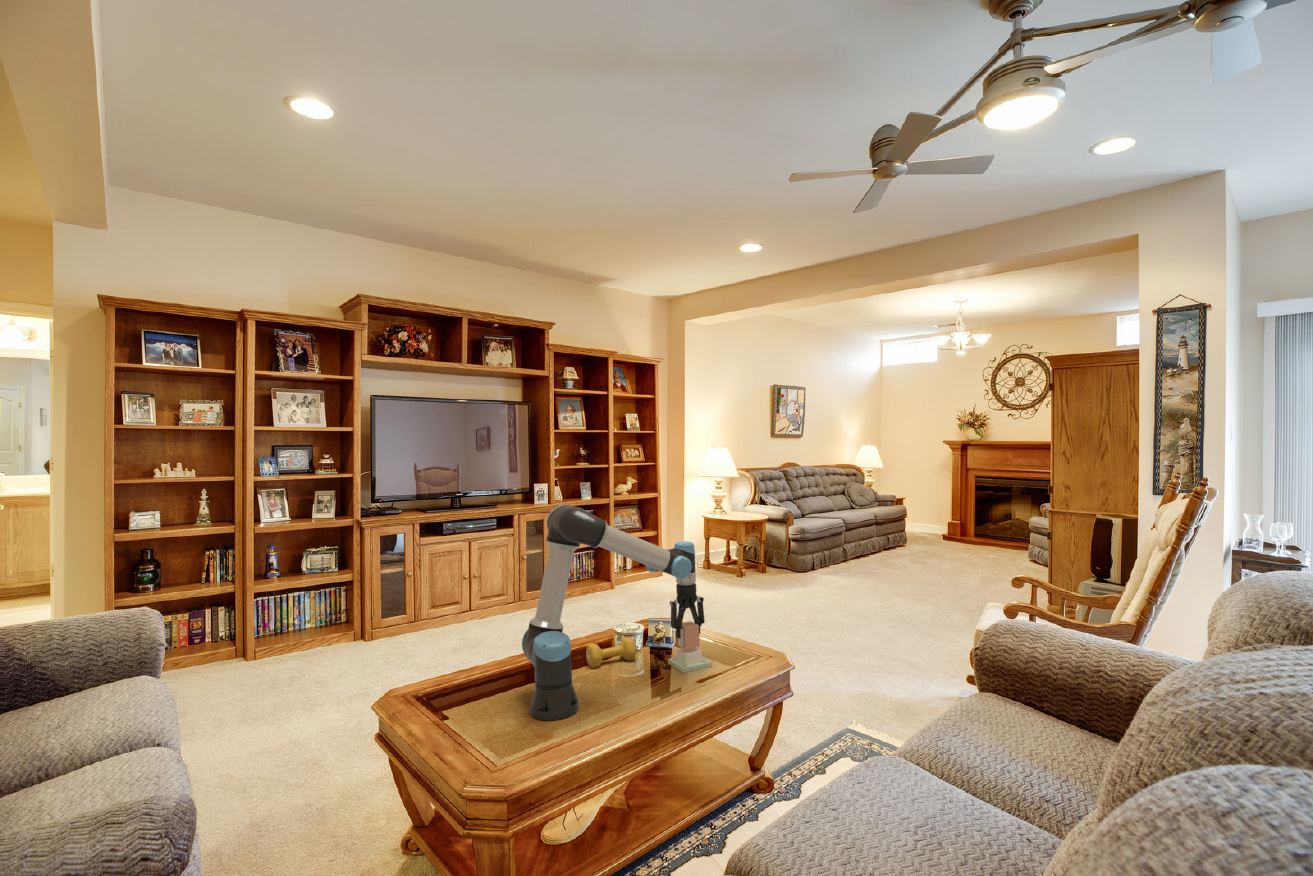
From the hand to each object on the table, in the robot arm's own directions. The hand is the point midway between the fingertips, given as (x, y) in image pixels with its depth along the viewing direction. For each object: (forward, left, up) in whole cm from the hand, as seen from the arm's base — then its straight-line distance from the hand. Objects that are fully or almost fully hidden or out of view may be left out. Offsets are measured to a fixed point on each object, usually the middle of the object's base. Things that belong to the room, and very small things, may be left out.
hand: (688, 644), depth 228 cm
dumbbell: (-24, +19, -8) cm, 32 cm away
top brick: (0, 0, 0) cm, 0 cm away
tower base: (0, 0, -8) cm, 8 cm away
